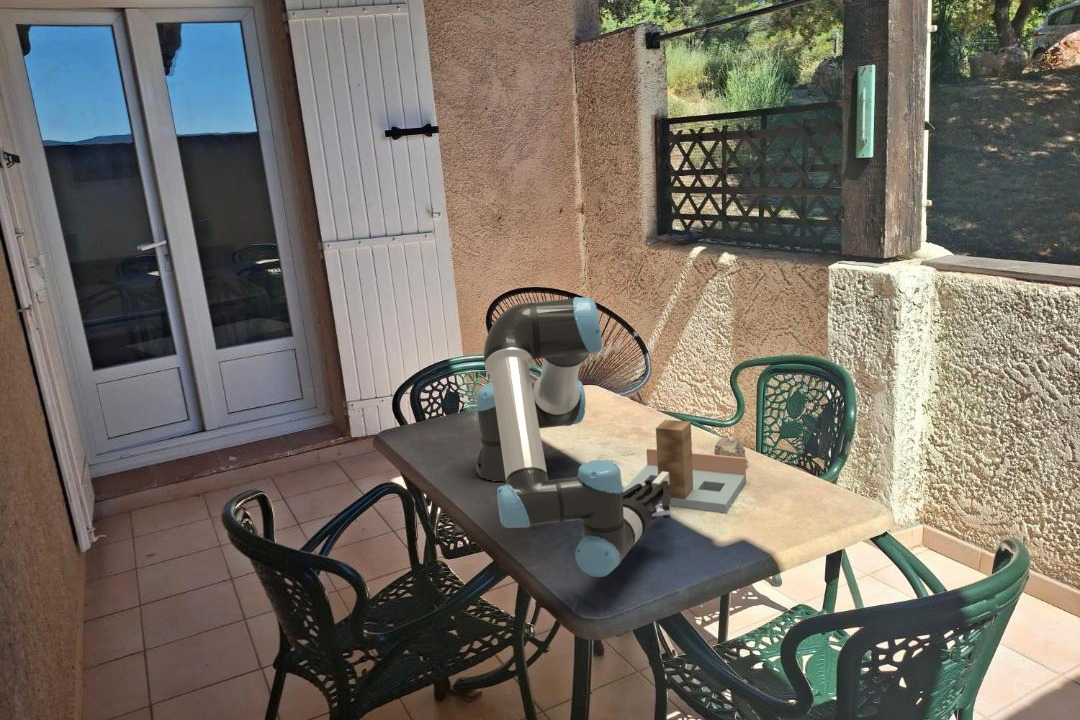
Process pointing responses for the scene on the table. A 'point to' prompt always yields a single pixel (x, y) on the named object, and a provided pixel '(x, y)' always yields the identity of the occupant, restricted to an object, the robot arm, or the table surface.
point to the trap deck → (703, 480)
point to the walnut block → (675, 456)
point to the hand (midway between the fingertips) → (665, 477)
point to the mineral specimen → (729, 448)
